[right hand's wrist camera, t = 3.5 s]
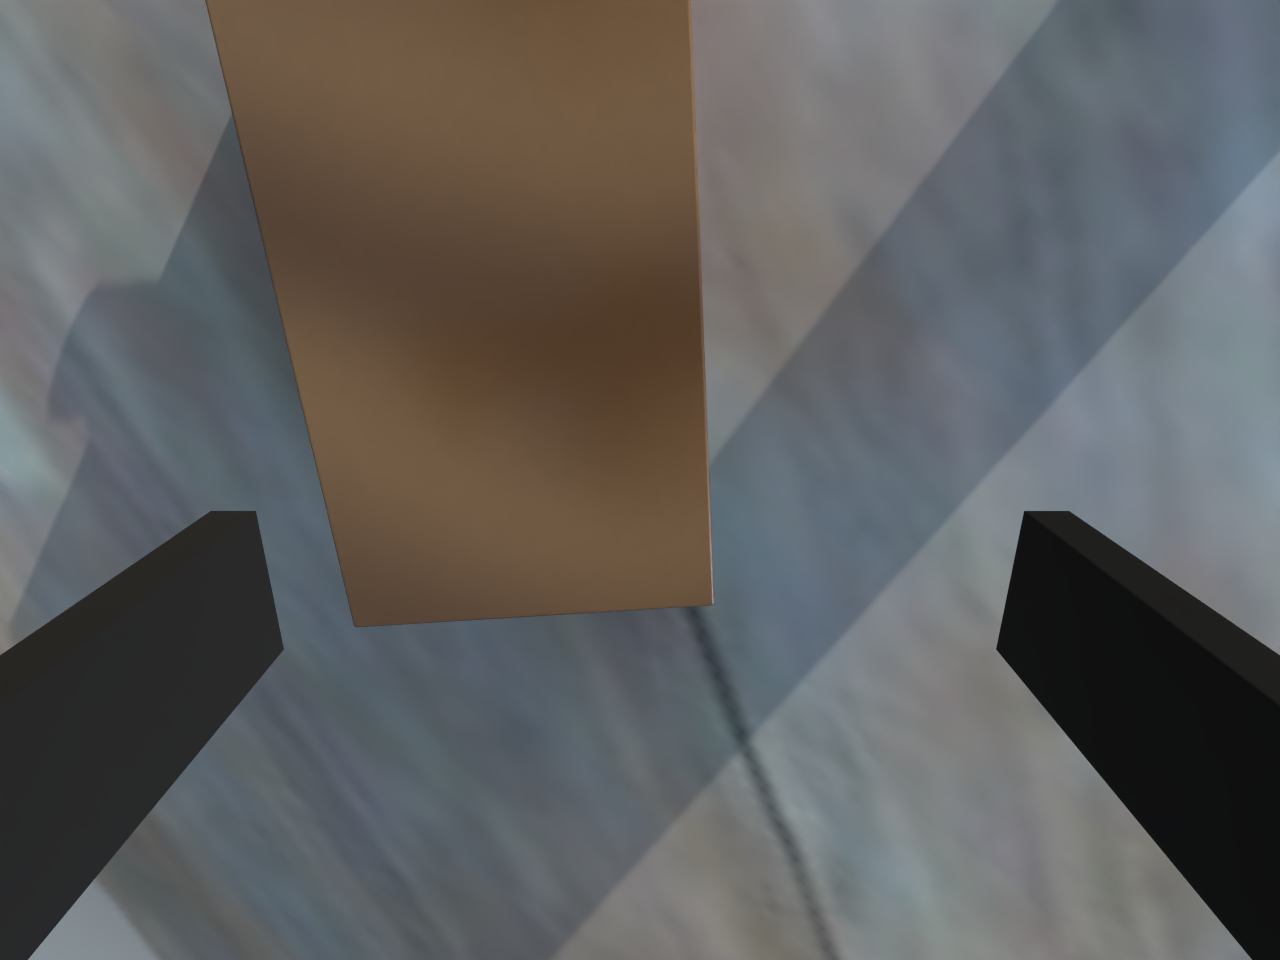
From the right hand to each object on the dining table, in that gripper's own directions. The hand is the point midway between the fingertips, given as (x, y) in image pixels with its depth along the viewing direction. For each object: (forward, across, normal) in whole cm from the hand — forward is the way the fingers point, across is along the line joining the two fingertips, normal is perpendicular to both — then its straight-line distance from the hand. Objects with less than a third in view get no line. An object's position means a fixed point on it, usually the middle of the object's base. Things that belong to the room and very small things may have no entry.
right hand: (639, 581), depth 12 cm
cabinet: (+15, +4, -5) cm, 16 cm away
